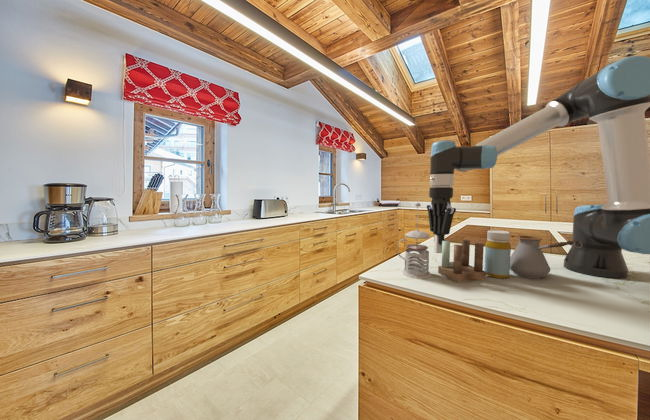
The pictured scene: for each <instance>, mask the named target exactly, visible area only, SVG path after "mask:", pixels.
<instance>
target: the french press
mask: <svg viewBox="0 0 650 420" xmlns="http://www.w3.org/2000/svg"><path fill="white" fill-rule="evenodd" d="M421 206H422V205H421V203H420V202H416V203H414V207H416V208H417V209H416V230H411V231H408V232H407V233H405V234H404V236H405V237H406V238H405V237H403V238H401V239H400V240H398V242H397V244H396V245H397V246H396V250H397V251H396V252H397V253H396V254H397V255H398V257H399V258H401V259H403V260H404V269H403V270H402V271H401V273H403V274H402V275H404V276H405V277H408V278H411V279H416V280H424V279H429V278H432V274H431V272H430V271H429V268H430V267H429V266H430V265H429V263H430V262H429V260H430V252H429V250H428V248H429V247H428V246H427V245H425V244H418V243H414V244H412V243H411V244H406V246H405V247H406V249H405V254H404V256H405V257H404V256H402V255H401V254H400V252H399V244H400V243H401V242H402V241H405V242H404V243H407V238H409V239H416V240H418V239H419V240H422V239H424V240H426V239H429V238H430V237H431V235H430V234H428V232H425V231H422V230H418V227H419V221H418V220H419V219H418V217H419V207H421ZM416 252H417V253H416Z"/></svg>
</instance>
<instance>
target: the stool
mask: <svg viewBox="0 0 650 420" xmlns="http://www.w3.org/2000/svg"><path fill="white" fill-rule="evenodd" d="M470 246H471V240H469V239H462V240H461V244H454V245H453V262H454V263H453V267H449V268H445V267H442V265H438V267H437V269H438V271H437V273H438V274H440V275H442V276H444V277H445V278H447V279H448V280H451V281H452V282H454V283H465V282H475V281H481V280H482V281H484V280H487V275H486V272H485V271H484V268H483V267H484V250H485V245H484V243H481V242H480V243H479V242H476V243H474V260H473V261H474V262H473V264H474V265H470V253H471V252H470V249H471V247H470Z"/></svg>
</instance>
